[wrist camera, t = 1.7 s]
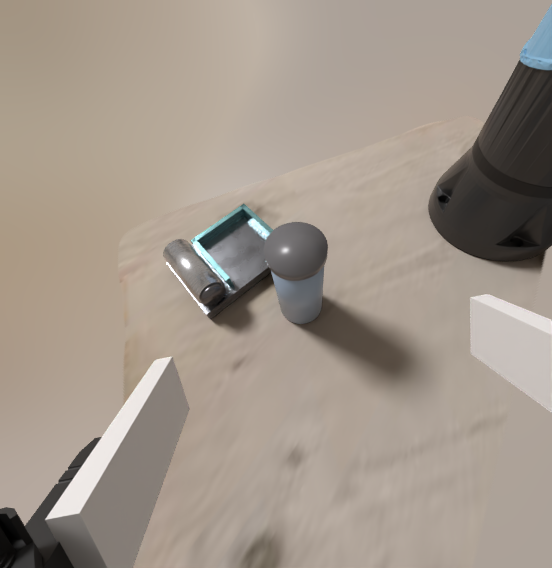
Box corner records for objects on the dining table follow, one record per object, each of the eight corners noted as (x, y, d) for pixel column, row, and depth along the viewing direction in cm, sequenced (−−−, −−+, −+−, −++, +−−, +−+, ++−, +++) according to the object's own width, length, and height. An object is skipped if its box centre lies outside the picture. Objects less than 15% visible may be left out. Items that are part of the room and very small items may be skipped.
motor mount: (245, 215, 43) (237, 190, 38) (290, 257, 38) (287, 233, 34) (171, 268, 40) (153, 247, 35) (210, 319, 36) (195, 302, 31)
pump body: (302, 276, 37) (297, 212, 26) (333, 305, 35) (341, 247, 24) (269, 303, 36) (251, 246, 25) (299, 334, 33) (292, 287, 23)
